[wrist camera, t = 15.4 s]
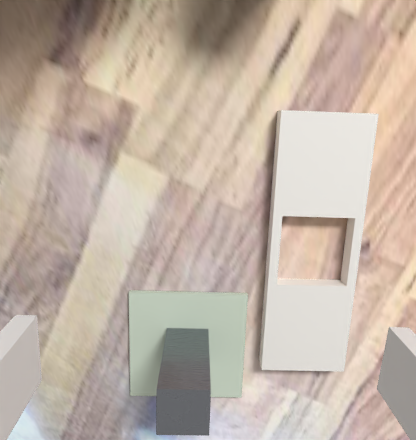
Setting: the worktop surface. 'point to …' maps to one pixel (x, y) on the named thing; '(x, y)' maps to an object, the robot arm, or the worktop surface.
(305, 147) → the rail
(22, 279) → the worktop surface
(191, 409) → the square block
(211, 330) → the pad
